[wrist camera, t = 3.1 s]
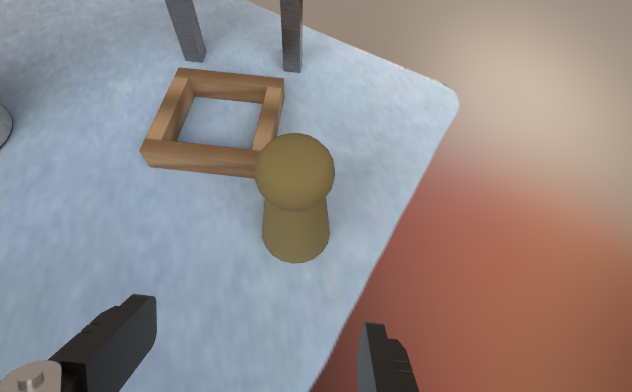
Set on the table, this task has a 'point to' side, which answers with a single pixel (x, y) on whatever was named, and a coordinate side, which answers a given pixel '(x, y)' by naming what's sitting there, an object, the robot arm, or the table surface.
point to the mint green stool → (194, 45)
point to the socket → (208, 158)
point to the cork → (295, 196)
